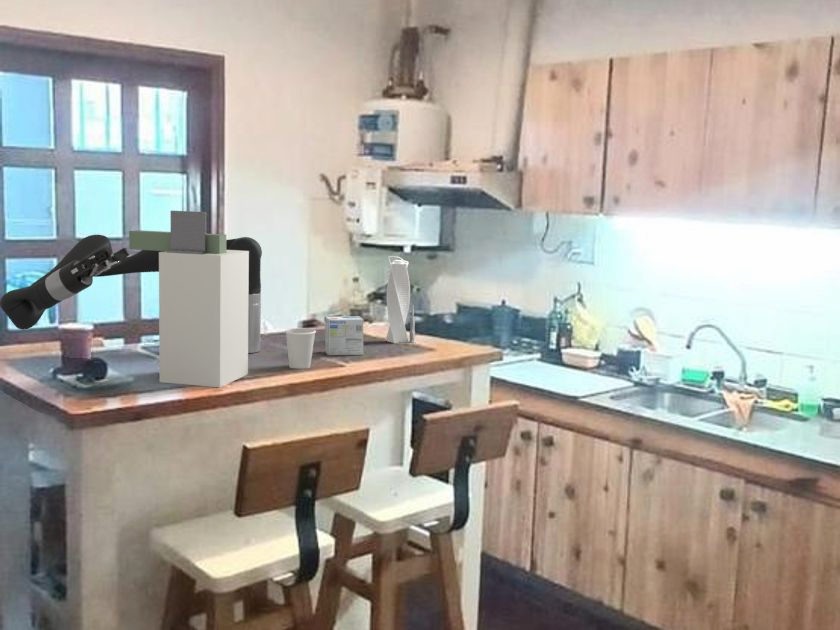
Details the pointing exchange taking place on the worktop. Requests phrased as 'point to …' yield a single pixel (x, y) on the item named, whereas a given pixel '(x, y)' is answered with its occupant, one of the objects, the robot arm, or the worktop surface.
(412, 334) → the skyscraper
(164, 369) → the tall white pillar
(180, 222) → the bookend
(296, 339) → the dixie cup
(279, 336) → the worktop surface
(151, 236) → the green bar
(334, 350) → the light bulb box
